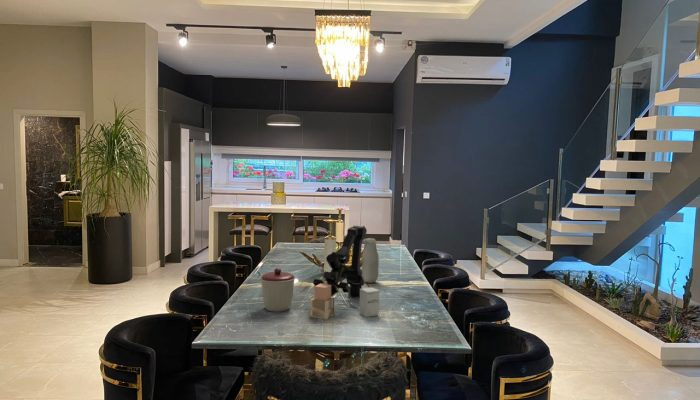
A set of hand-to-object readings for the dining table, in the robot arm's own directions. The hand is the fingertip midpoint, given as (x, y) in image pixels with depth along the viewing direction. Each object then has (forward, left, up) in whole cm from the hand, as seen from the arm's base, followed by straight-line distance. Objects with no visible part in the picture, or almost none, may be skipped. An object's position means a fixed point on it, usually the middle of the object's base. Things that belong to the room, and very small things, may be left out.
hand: (325, 300), depth 248 cm
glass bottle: (-45, -50, -7) cm, 68 cm away
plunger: (+2, +2, -6) cm, 7 cm away
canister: (+21, -15, -7) cm, 27 cm away
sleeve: (+3, +3, -7) cm, 8 cm away
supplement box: (-20, +8, -7) cm, 23 cm away
